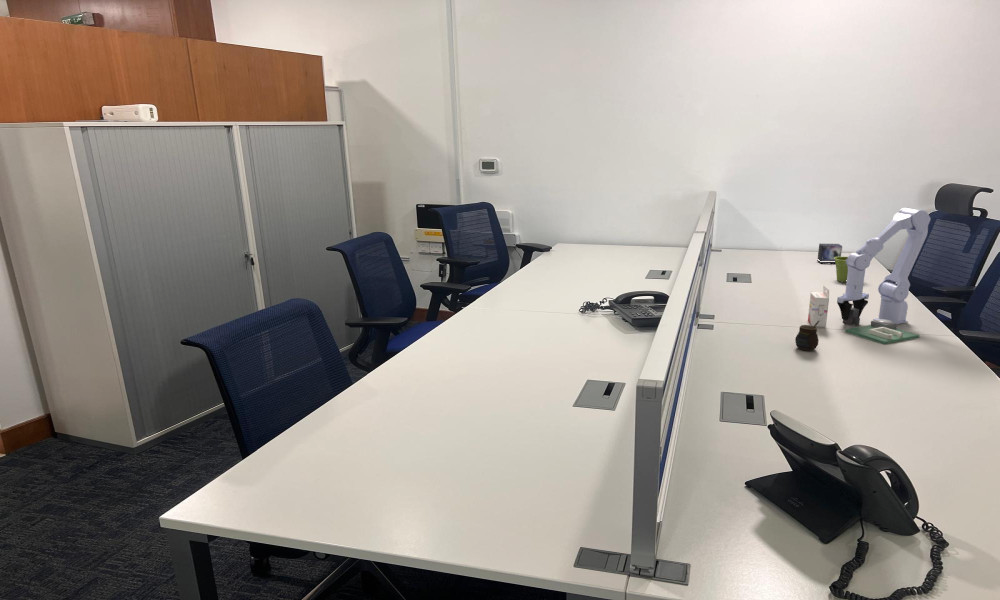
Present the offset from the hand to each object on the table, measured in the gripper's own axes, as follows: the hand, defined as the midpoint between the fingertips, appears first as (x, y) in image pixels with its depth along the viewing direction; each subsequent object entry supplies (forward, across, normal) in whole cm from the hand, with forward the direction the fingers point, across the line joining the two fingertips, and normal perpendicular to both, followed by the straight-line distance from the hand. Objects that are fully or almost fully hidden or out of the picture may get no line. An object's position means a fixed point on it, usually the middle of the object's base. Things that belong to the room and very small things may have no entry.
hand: (850, 318), depth 251 cm
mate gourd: (+2, +39, +15) cm, 42 cm away
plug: (+2, 0, 0) cm, 2 cm away
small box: (+2, -88, -87) cm, 124 cm away
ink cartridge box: (+2, +12, -5) cm, 13 cm away
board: (+2, +2, +15) cm, 15 cm away
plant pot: (+2, -59, -52) cm, 79 cm away
